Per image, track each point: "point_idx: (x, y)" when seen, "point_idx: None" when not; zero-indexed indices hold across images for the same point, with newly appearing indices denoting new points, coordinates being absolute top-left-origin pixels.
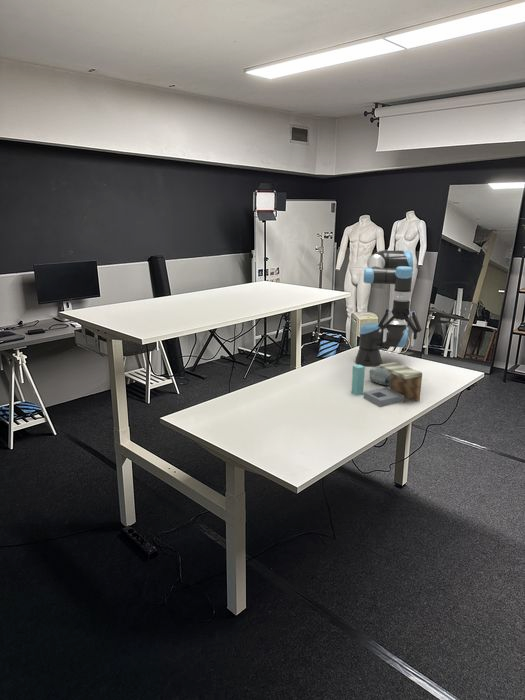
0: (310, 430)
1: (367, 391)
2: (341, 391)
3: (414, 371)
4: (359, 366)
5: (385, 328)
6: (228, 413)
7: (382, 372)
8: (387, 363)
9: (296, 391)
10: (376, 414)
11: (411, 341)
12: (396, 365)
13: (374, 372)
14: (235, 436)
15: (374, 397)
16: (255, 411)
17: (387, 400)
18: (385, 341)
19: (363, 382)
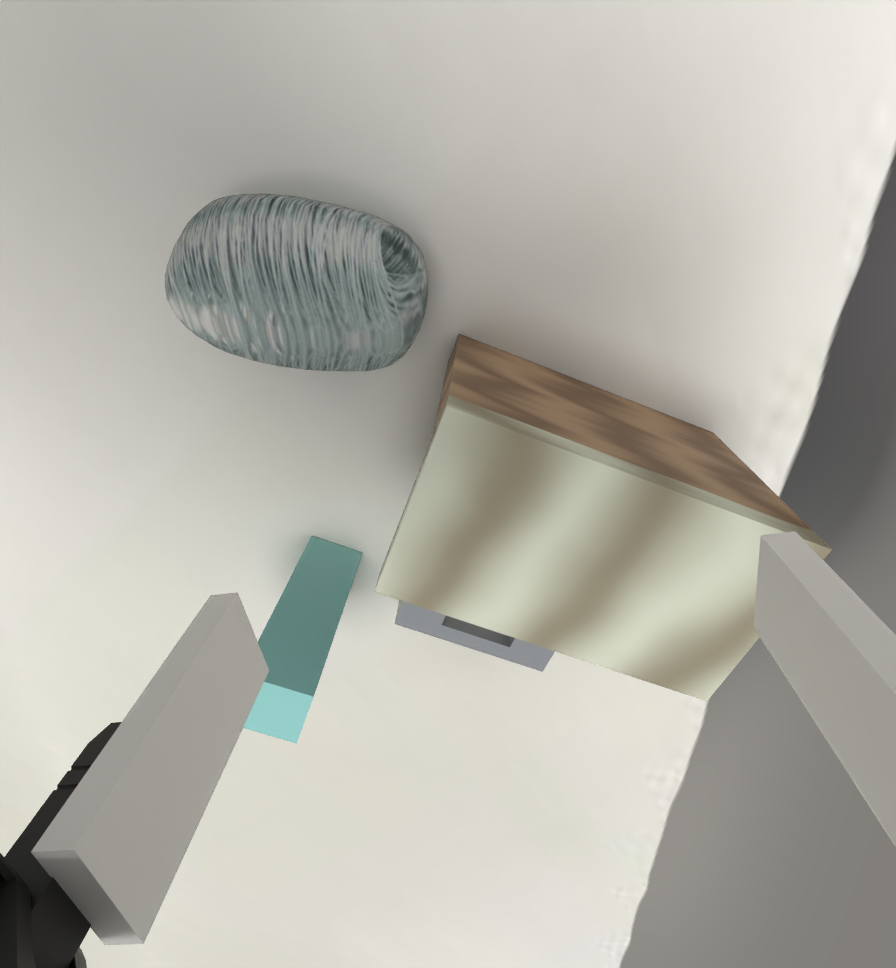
0: (434, 913)
1: (406, 604)
2: (246, 592)
3: (746, 561)
4: (277, 712)
5: (74, 886)
6: (144, 944)
7: (327, 354)
8: (409, 508)
9: (99, 716)
10: (565, 719)
11: (807, 699)
12: (517, 509)
13: (254, 357)
14: None
15: (490, 654)
16: (185, 904)
17: None
18: (248, 620)
19: (344, 605)
